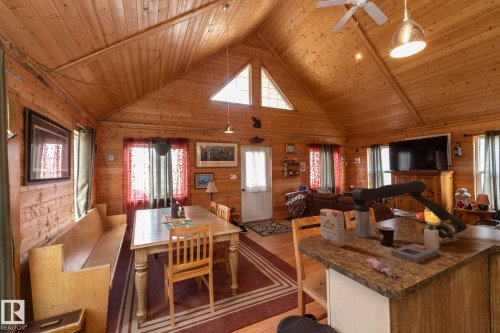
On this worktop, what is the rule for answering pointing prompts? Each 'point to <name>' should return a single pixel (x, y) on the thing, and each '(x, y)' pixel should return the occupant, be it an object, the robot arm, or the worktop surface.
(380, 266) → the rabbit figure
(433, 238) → the plug
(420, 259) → the socket
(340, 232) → the cracker box
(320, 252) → the worktop surface
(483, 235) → the worktop surface
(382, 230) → the coffee mug
